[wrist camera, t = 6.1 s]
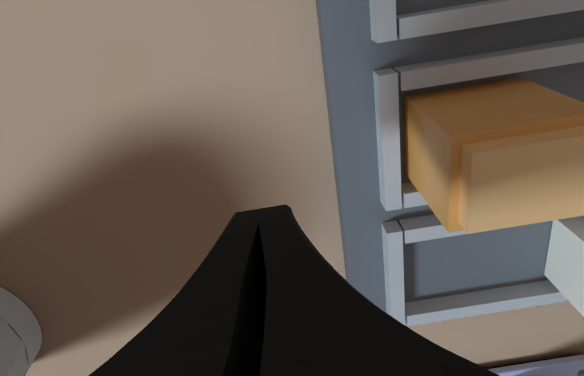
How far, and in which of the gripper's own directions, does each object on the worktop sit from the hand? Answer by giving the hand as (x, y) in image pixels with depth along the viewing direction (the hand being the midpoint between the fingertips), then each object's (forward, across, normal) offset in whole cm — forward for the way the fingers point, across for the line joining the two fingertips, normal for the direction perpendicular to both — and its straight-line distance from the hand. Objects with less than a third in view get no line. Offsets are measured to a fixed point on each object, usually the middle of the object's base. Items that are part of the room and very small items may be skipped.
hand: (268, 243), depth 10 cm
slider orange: (+5, -7, 0) cm, 9 cm away
